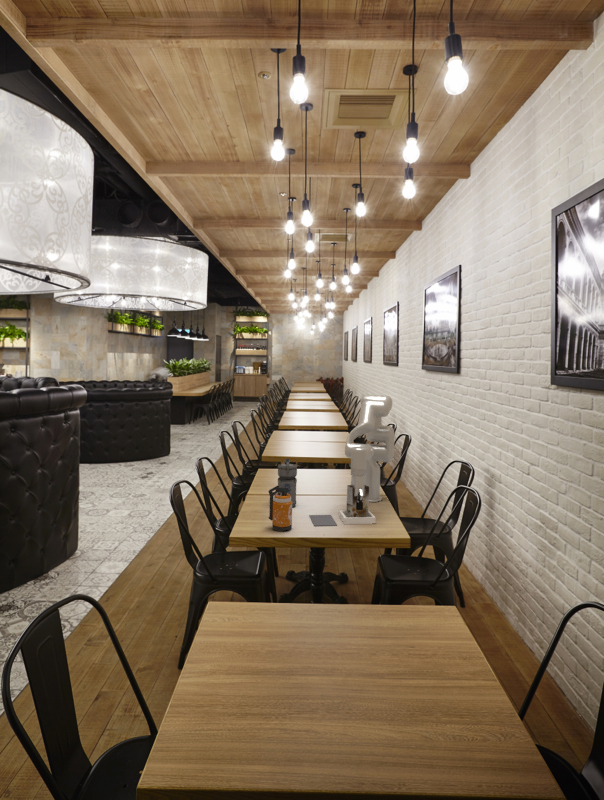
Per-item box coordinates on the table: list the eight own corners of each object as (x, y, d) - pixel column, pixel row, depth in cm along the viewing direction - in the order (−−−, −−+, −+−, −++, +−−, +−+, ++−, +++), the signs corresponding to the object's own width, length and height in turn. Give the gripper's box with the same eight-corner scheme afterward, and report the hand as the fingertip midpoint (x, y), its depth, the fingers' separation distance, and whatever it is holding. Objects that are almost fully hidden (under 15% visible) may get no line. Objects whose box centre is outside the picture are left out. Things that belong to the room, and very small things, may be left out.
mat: (309, 515, 254) (309, 515, 254) (330, 515, 255) (330, 514, 255) (314, 526, 238) (314, 525, 238) (337, 525, 239) (337, 524, 239)
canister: (289, 532, 228) (290, 489, 227) (265, 530, 230) (266, 487, 229) (293, 526, 237) (294, 484, 235) (270, 524, 239) (271, 482, 238)
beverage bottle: (295, 501, 278) (296, 457, 276) (296, 509, 265) (297, 462, 263) (277, 501, 278) (278, 456, 276) (277, 508, 264) (277, 461, 262)
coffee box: (352, 521, 244) (353, 488, 243) (345, 517, 250) (346, 485, 249) (368, 518, 248) (369, 486, 247) (361, 514, 254) (362, 483, 253)
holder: (338, 516, 254) (339, 510, 254) (368, 515, 256) (368, 510, 256) (344, 524, 242) (344, 518, 241) (375, 523, 244) (375, 517, 243)
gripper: (347, 468, 255) (346, 502, 257) (355, 476, 238) (354, 512, 240) (361, 467, 256) (360, 501, 258) (370, 476, 239) (369, 512, 241)
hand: (357, 507), depth 249 cm, fingers closed on coffee box, 7 cm apart
